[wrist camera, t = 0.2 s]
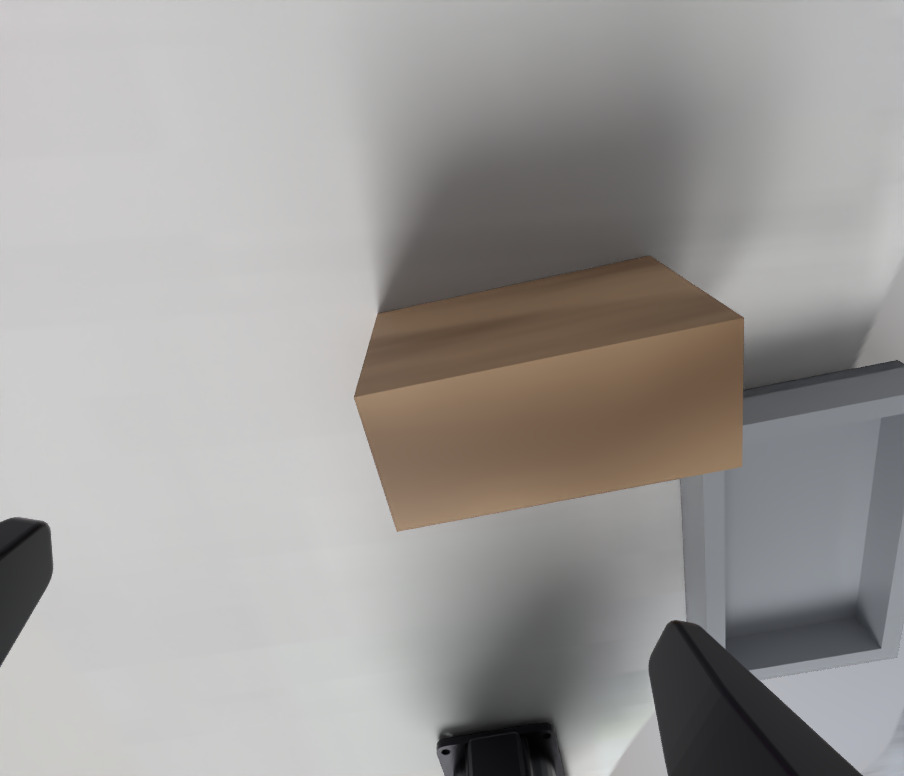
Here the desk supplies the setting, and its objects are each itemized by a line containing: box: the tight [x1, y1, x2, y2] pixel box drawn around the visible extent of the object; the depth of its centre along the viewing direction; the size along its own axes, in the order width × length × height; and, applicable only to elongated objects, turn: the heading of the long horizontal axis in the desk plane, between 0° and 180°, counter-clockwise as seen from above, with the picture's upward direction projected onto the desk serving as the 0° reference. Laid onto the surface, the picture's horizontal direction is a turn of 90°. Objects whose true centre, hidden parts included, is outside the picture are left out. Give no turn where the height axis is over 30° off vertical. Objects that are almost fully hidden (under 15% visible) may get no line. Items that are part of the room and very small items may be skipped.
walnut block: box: [354, 256, 744, 532], centre depth 19 cm, size 4×10×7 cm, turn 102°
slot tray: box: [680, 360, 904, 680], centre depth 25 cm, size 14×9×2 cm, turn 12°
